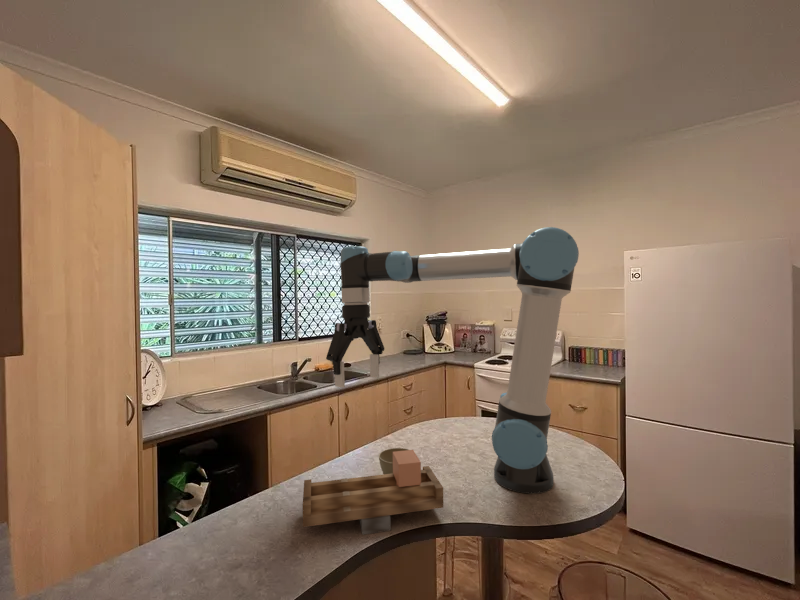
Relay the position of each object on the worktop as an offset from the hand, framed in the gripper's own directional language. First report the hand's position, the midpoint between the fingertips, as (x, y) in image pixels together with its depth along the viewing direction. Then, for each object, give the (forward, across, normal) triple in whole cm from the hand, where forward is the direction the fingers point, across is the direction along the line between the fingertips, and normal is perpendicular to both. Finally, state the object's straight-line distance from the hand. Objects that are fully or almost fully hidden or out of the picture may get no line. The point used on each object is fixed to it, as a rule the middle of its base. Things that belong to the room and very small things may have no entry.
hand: (358, 381), depth 104 cm
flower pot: (+27, -4, +9) cm, 29 cm away
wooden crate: (+27, +12, +14) cm, 32 cm away
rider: (+21, +6, +20) cm, 30 cm away
